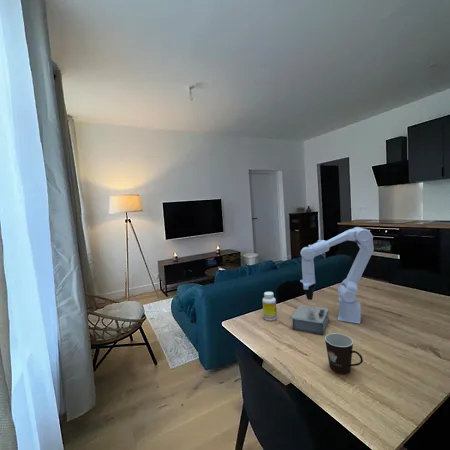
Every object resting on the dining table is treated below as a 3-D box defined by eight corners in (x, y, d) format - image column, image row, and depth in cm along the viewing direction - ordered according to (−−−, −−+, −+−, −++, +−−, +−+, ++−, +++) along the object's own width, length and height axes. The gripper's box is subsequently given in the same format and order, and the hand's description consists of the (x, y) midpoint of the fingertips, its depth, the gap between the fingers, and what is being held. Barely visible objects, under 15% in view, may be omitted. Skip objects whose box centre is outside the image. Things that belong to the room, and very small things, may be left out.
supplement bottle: (277, 321, 121) (275, 295, 120) (263, 320, 122) (261, 295, 121) (276, 315, 127) (275, 290, 126) (263, 315, 129) (262, 290, 128)
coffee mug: (321, 362, 88) (320, 334, 87) (344, 359, 88) (343, 332, 88) (339, 385, 76) (338, 353, 75) (366, 381, 77) (364, 350, 76)
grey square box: (328, 321, 117) (328, 310, 117) (323, 335, 105) (322, 323, 105) (300, 316, 124) (300, 306, 123) (292, 329, 112) (292, 318, 111)
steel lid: (328, 309, 117) (328, 306, 117) (322, 323, 104) (322, 319, 104) (298, 306, 124) (298, 302, 124) (290, 318, 112) (290, 314, 111)
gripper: (303, 267, 128) (304, 293, 129) (296, 275, 116) (298, 303, 117) (317, 268, 125) (318, 294, 126) (311, 276, 112) (313, 305, 113)
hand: (309, 299), depth 121 cm, fingers closed
